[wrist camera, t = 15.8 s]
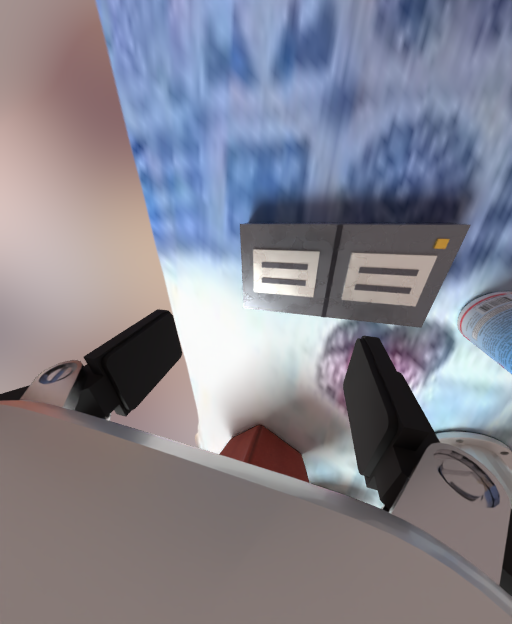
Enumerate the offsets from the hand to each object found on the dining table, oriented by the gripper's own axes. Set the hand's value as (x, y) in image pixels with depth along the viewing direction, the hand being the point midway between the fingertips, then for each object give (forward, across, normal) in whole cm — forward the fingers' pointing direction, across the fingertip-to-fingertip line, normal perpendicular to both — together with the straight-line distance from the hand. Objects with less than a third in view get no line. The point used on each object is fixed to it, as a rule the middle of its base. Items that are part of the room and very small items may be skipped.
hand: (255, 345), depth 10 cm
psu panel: (+16, -5, 0) cm, 17 cm away
